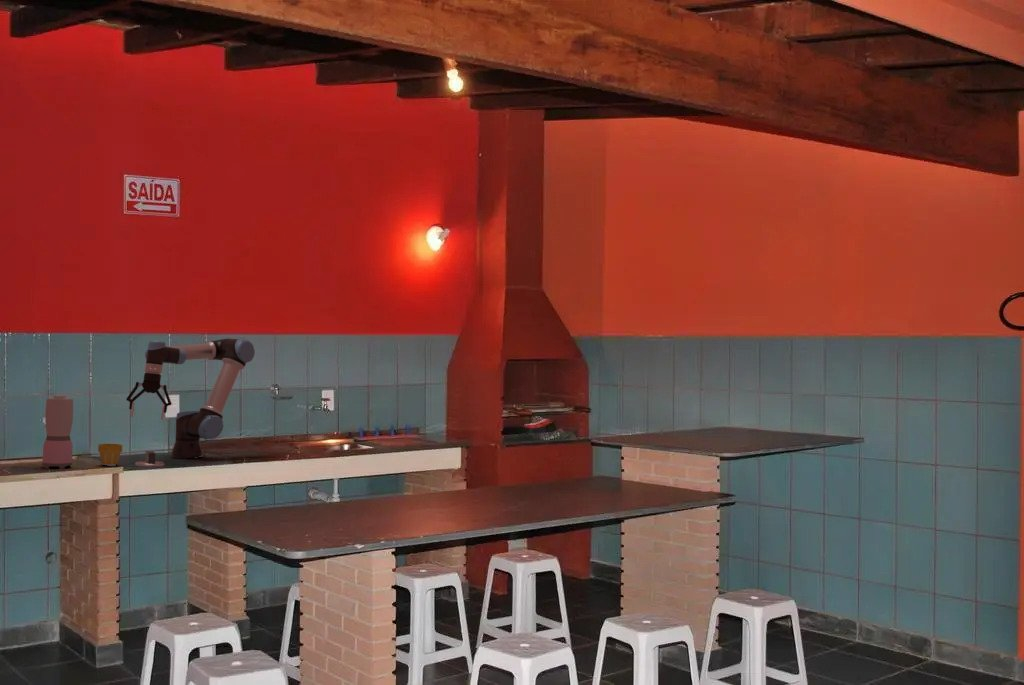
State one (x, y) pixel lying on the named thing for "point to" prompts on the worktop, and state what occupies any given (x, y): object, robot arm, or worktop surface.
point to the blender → (58, 432)
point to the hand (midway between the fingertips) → (146, 418)
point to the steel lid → (150, 460)
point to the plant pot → (109, 453)
